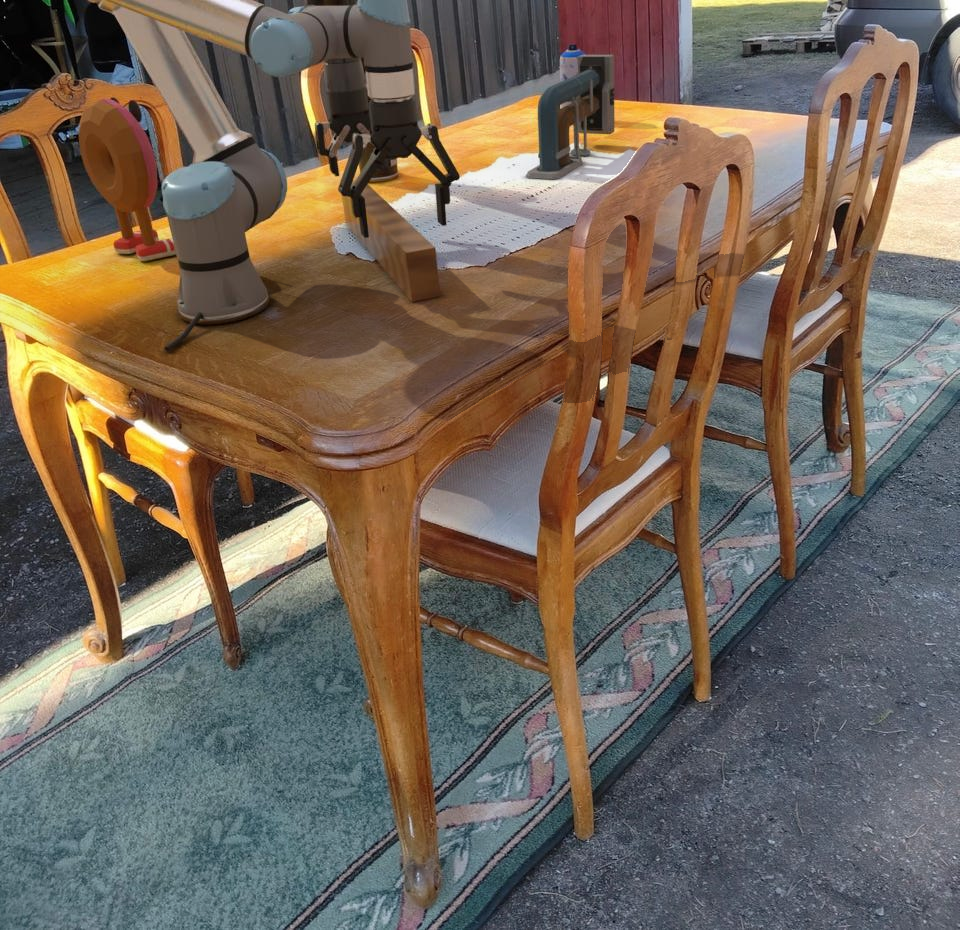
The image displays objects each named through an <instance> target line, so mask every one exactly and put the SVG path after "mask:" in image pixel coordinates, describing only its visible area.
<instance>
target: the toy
mask: <svg viewBox="0 0 960 930" xmlns="http://www.w3.org/2000/svg"><path fill="white" fill-rule="evenodd" d="M127 105H128V108H126V107H125V106H123V105H122V104H121V103H120V101H119V100H118V98H116V97H115V96H112V97H110V98H107V97H103V98H101V99H99V100H97V101H95V102H93V103H91V104H89V105H88V106H86V107H85V108H84V109H83V110H82V114H81V116H80V120H79V124H78V146H79V152H80V155H81V156H80V157H81V160H82V163H83V166H84V169H85V171H86V173H87V175H88V177H89V179H90V181H91V184H93V186H94V187H95V189H96V190H97V191H98V193H99V194H100V195H101V196H102V198H104V200H105V201H106V202H107V203H108V204H109V205H111V206H112V207H113V209H114V212H115V215H116V218H117V223H118V226H119V230H120V234H121V237H120V238H118V239H116V240H114V241H113V248H114V252H115V253H117V254H122V255H130V254H134V253H135V254H136V257H137V259H138V260H139V261H141V262H147V261H148V262H149V261H153V260H157V259H164V258H167V257H172V256H177V255H176V251H175V247H174V242H173V238H172V237H169V238H165V239H160V238H159V234H158V232H157V230H156V229H154V228H153V224H152V219H151V215H150V212H149V209H148V208H149V207H150V206H151V205H152V203H153V202H154V200H155V198H156V195H157V190H158V166H157V160H156V157H155V153H154V150H153V147H152V144H151V142H150V140H149V139H150V138H149V137H148V135H147V133H146V131H145V129H144V128H143V126H142V125H141V122H142V119H143V118H142V115H143V113H142V110H141V107H140V106H139V104H138V102H137V101H136V100H134V99H131V100H129V101H128V104H127ZM133 212H135V215H136V219H137V223H138V227H139V229H138V230H136V231H134V230H133V226H132V225H133V224H132V220H131V217H130V213H133Z"/></svg>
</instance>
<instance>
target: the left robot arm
mask: <svg viewBox="0 0 960 930" xmlns="http://www.w3.org/2000/svg"><path fill="white" fill-rule="evenodd" d="M86 1H87V2H89V3H93V4H96V5H97V6H98V8H99V9H100V10H102V11H105V12H108V13H110V14H112V15H114V17H115V19H116V20H117V22H118V23H119V25H120V27H121V29H122V31H123V32H124V34H125V36H126V38H127V40H128V41H129V44H130V45H131V46H132V48H133V50H134V51H135V53H136V56H137V57H138V58H139V60H140V63H142V65H143V67H144V68H145V70H146V72H147V74H148V75H149V77H150V79H151V80H152V82H153V84H154V86H155V88H156V90H157V91H158V93H159V94H160V96H161V98H162V100H163V101H164V104H165V105H166V106H167V108H168V110H169V112H170V113H171V115H172V117H173V119H174V121H175V122H176V124H177V125H178V127H179V129H180V131H181V132H182V134H183V136H184V137H185V140H186V141H187V143H188V144H189V146H190V148H191V150H192V152H193V158H192V163H190V164H189V165H188V166H181V167H180V168H177V169H175V170H174V171H172V172H171V173H170V172H169V174H168V175H167V176H165V178H164V179H163V181H162V184H161V195H162V200H163V201H162V205H163V210H164V211H165V214H166V217H167V221H168V226H169V230H170V234H171V238H173V242H174V247H175V251H176V255H175V256H176V258H177V262H178V266H179V283H178V294H177V310H178V314H179V318H180V319H182V320H183V321H184V322H186V323H189V324H188V325H187V327H186V328H185V329H184V330H183V332H182V333H181V334H180V335H179V336H178V337H176V339H174V340H172V341H171V342H170V343H168V344H167V345H165V346H164V350H165V351H166V352H170V351H171V350H172V349H174V348H175V347H176V346H178V345H179V344H181V343H182V342H183V341H184V340H185V339H186V338H187V337H188V336H189V334H190V333H191V332H192V330H193V329H194V327H195V326H197V325H202V326H203V325H204V326H205V325H206V326H210V325H222V324H230V323H233V322H239V321H241V320H245V319H248V318H251V317H253V316H256V315H258V314H260V312H263V311H264V310H265V309H266V308H267V307H268V306H269V305H270V296H269V292H268V290H267V287H266V284H265V283H264V282H263V280H262V278H261V276H260V274H259V272H258V270H257V269H256V267H255V265H254V264H253V262H252V260H251V257H250V251H249V246H248V241H247V236H246V233H247V232H248V231H250V230H251V229H253V228H254V227H256V226H258V225H260V223H263V222H265V221H266V220H269V219H271V218H272V217H273V216H274V215H275V213H276V212H278V210H280V208H281V207H282V206H283V204H284V202H285V200H286V197H287V193H288V178H287V174H286V172H285V169H284V166H283V165H282V163H281V162H280V160H279V159H278V158H277V157H276V156H275V155H274V154H273V153H272V152H268V151H267V150H266V149H263V148H259V146H258V144H257V142H256V140H255V139H254V137H253V135H252V134H251V133H249V132H247V131H244V130H240V128H239V127H238V126H237V124H236V122H235V121H234V119H233V117H232V115H231V114H230V111H229V110H228V108H227V107H226V105H225V103H224V101H223V99H222V97H221V96H220V94H219V92H218V90H217V88H216V86H215V84H214V83H213V81H212V79H211V78H210V76H209V74H208V72H207V70H206V68H205V67H204V65H203V64H202V61H201V60H200V58H199V56H198V54H197V52H196V51H195V49H194V47H193V45H192V44H191V42H190V40H189V38H188V36H187V34H186V33H188V34H189V35H192V36H195V37H198V38H199V39H203V40H204V41H207V42H209V43H212V44H215V45H218V46H220V47H222V48H225V49H227V50H230V51H233V52H235V53H236V54H237V53H238V54H240V55H242V56H245V57H247V58H250V59H253V61H254V63H255V64H256V65H257V66H258V67H259V69H260V70H261V71H262V72H263V73H264V74H267V75H269V76H271V77H275V78H281V77H282V78H283V77H291V76H295V75H297V74H300V73H301V72H303V71H304V70H307V69H309V68H312V67H314V66H316V65H319V64H321V63H324V61H326V60H329V59H335V58H364V64H365V70H366V74H365V80H366V84H367V92H368V96H369V97H370V98H371V99H372V100H370V102H369V112H370V122H371V132H370V134H358V133H353V135H352V142H351V148H350V149H351V150H350V153H349V155H348V158H347V161H346V164H345V167H344V170H343V173H342V176H341V178H340V182H339V185H338V188H337V190H338V192H339V193H340V194H341V196H342V195H343V196H348V197H350V198H351V205H352V213H353V215H354V216H355V217H356V218H358V217H359V221H360V230H361V234H362V235H363V237H364V238H367V237H369V233H368V224H367V215H366V206H365V198H364V197H363V196H362V195H361V194H362V192H363V190H364V189H365V187H366V186H367V184H368V185H369V183H370V182H369V181H370V179H371V178H372V176H373V175H374V173H375V172H376V170H377V168H378V167H379V165H380V164H382V162H383V161H384V159H385V158H386V159H389V160H394V159H397V160H398V159H408V158H409V157H411V155H413V156H414V157H415V158H416V159H417V160H418V161H419V162H420V163H421V164H422V165H423V166H424V168H426V170H428V171H429V172H430V173H431V174H432V175H433V177H435V178H436V179H437V181H439V182H438V183H434V189H435V203H436V204H435V205H436V216H437V217H436V218H437V223H438V224H439V225H441V226H442V227H446V226H447V225H448V224H447V213H446V211H447V210H446V205H450V203H451V191H450V190H451V189H450V187H451V186H452V183H454V182H455V181H459V180H460V178H461V176H460V173H459V172H458V170H457V168H456V167H455V164H454V163H453V160H452V159H451V158H450V155H449V154H448V152H447V150H446V148H445V147H444V145H443V143H442V141H441V140H440V135H439V130H438V127H437V126H436V125H434V124H433V123H431V122H429V123H427V124H426V125H425V126H422V127H419V124H418V123H419V122H418V109H417V101H416V99H415V98H414V95H415V93H416V87H415V86H416V85H415V73H414V63H413V51H412V49H413V48H412V33H411V19H410V13H409V6H408V0H358V2H357V5H350V6H315V5H308V6H307V5H303V6H295V7H293V8H290V9H289V10H288V13H285V12H283V11H280V10H278V9H276V8H272V7H270V6H267V5H265V4H263V3H260V2H258V1H255V0H86ZM422 136H423V137H424V139H426V140H427V141H429V143H430V145H431V147H432V148H433V150H434V152H435V154H436V156H437V157H438V159H439V160H440V163H441V164H442V166H443V168H444V169H445V171H446V174H445V173H443V172H442V171H441V169H439V167H438V166H436V165H435V163H433V161H432V160H431V159H429V158H428V156H427V155H426V154H425V152H423V151H422V150H421V149H420V148H419V147H418V146H417V145H418V143H419V142H420V140H421V138H422ZM368 142H371V143H372V144H373V146H374V147H375V149H374V151H373V152H372V154H371V156H370V159H369V160H368V162H367V163H366V165H365V167H364V168H363V170H362V171H361V173H360V172H359V175H358V176H357V177H356V179H355V176H356V174H357V171H358V168H359V162H360V159H361V156H362V152H363V149H364V148H366V146H367V143H368ZM354 179H355V182H354ZM352 182H354V184H353V185H352ZM351 185H352V187H351Z"/></svg>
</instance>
